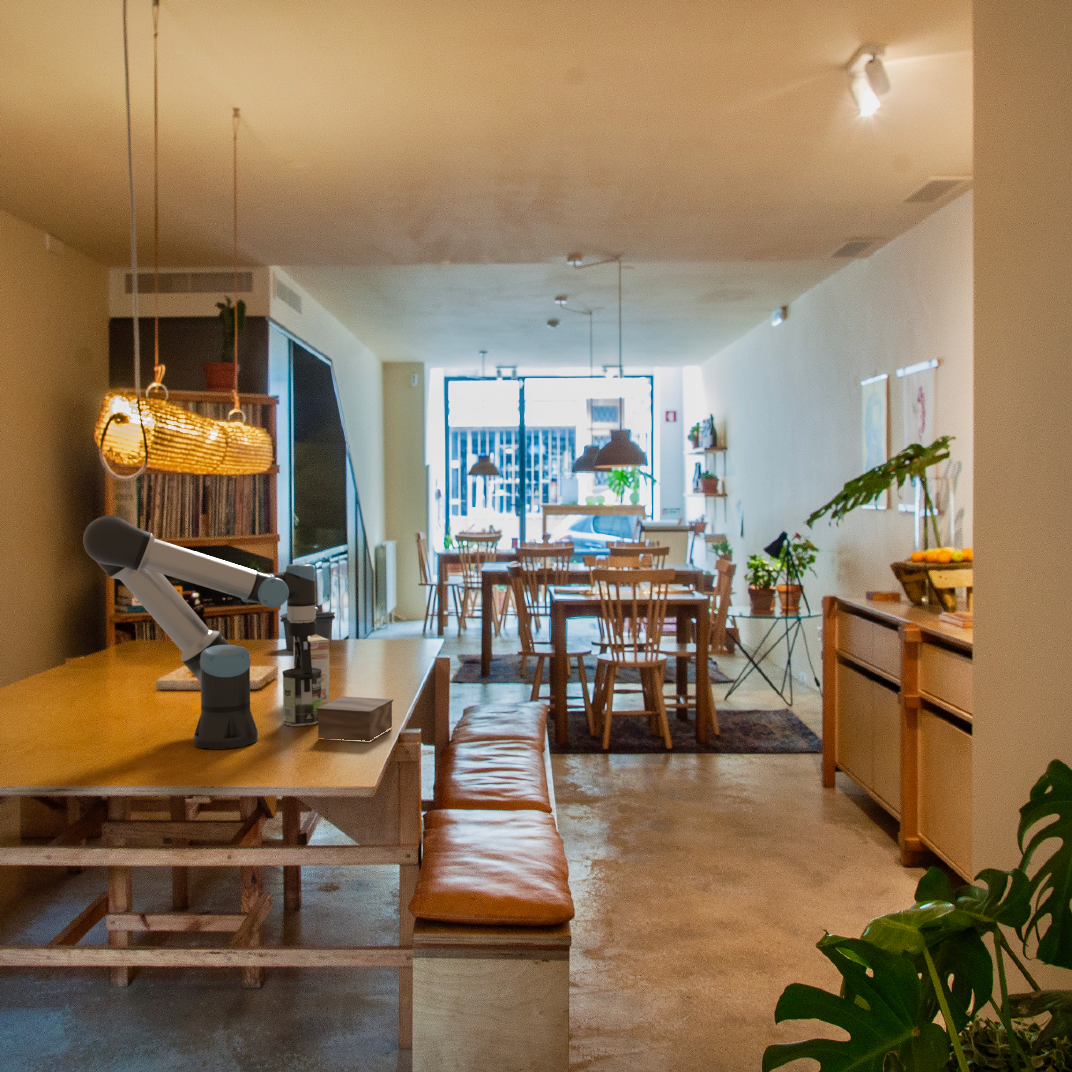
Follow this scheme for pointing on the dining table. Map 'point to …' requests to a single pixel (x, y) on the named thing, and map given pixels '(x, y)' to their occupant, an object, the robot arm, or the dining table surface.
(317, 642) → the coffeecake box
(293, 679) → the coffee can
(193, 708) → the dining table surface
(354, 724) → the walnut box
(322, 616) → the storage bin
